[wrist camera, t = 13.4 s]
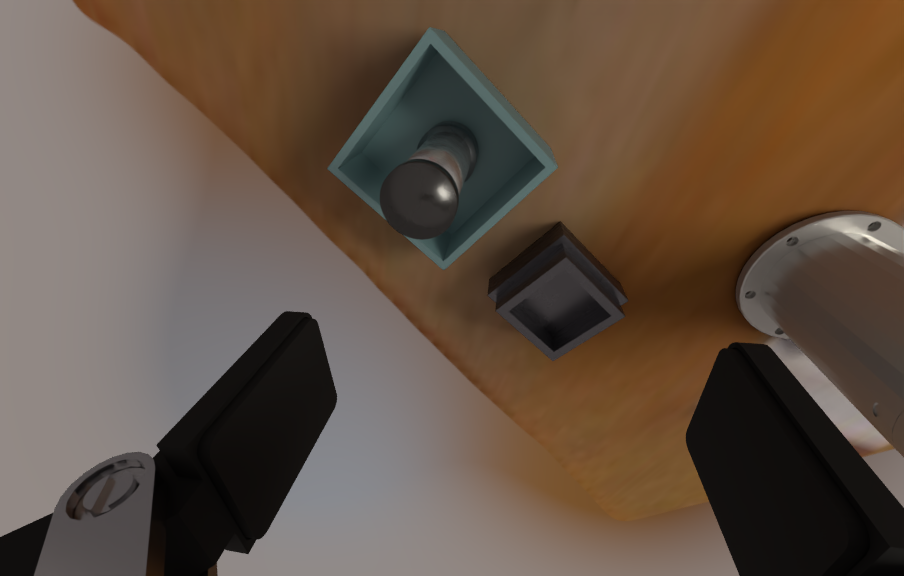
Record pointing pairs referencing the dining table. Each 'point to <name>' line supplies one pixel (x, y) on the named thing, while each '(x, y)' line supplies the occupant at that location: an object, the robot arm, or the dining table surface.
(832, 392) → the dining table surface
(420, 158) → the pepper mill
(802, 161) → the dining table surface
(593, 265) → the square recessed block
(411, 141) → the bin
